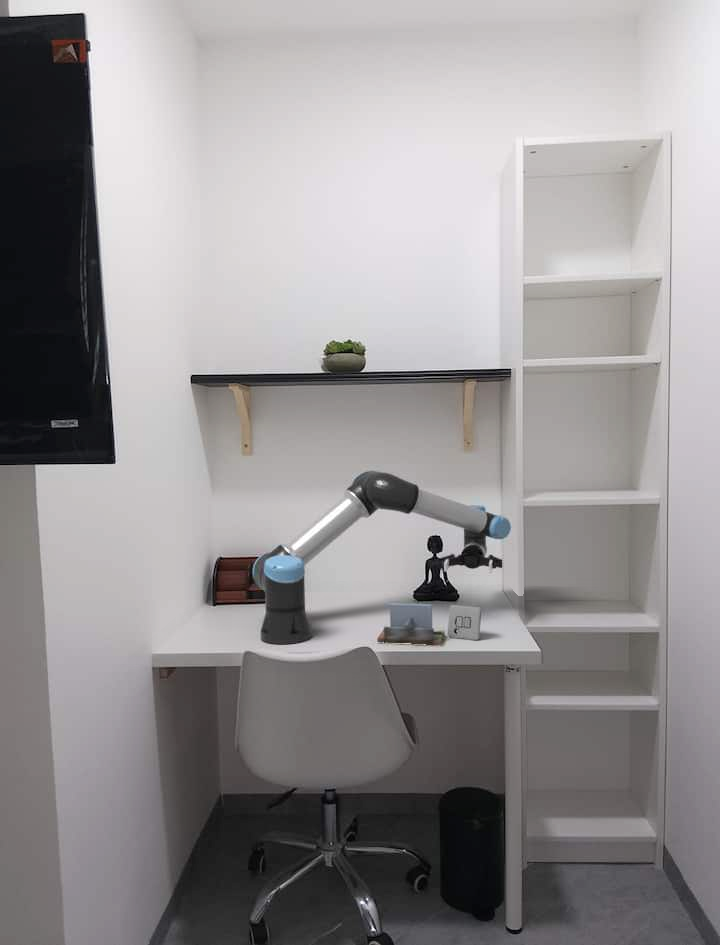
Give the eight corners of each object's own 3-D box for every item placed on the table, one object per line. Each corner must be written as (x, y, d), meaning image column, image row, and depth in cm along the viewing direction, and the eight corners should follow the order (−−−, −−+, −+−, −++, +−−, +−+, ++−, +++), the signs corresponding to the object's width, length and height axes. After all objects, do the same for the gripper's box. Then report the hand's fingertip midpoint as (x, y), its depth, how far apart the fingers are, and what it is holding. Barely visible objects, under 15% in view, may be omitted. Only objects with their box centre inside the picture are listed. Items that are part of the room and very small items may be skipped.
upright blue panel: (385, 640, 201) (385, 610, 201) (391, 631, 209) (390, 603, 209) (439, 642, 198) (438, 612, 197) (442, 633, 206) (442, 604, 206)
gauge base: (377, 643, 204) (377, 627, 204) (384, 633, 214) (383, 618, 214) (440, 646, 200) (440, 630, 200) (444, 635, 210) (444, 620, 210)
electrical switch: (447, 637, 208) (447, 605, 209) (453, 634, 213) (453, 603, 213) (478, 641, 204) (478, 608, 204) (483, 638, 209) (484, 606, 209)
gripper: (511, 567, 237) (509, 580, 216) (435, 566, 243) (427, 578, 222) (510, 544, 237) (509, 556, 216) (435, 544, 242) (426, 554, 222)
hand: (467, 567), depth 219 cm, fingers open, 13 cm apart
